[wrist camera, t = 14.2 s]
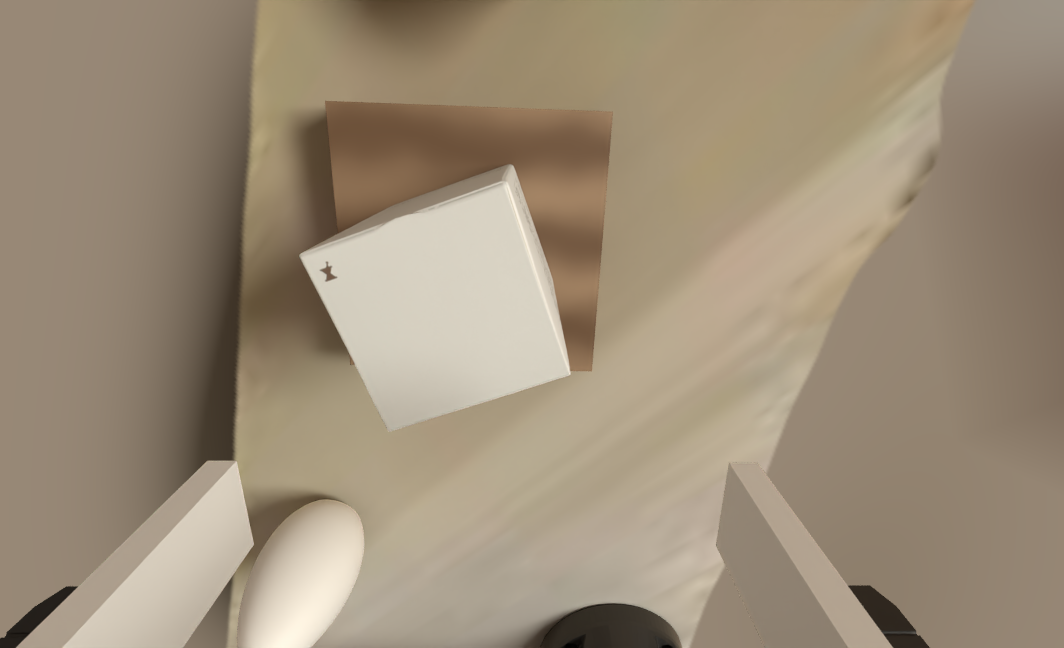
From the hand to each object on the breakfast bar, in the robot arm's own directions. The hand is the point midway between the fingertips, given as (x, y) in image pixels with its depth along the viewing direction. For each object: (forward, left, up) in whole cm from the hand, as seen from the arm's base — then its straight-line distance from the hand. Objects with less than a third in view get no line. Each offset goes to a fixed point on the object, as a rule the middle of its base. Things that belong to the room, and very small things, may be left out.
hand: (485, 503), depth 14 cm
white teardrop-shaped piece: (-24, +16, -28) cm, 40 cm away
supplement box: (+2, +3, -24) cm, 24 cm away
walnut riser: (+2, +3, -27) cm, 28 cm away
